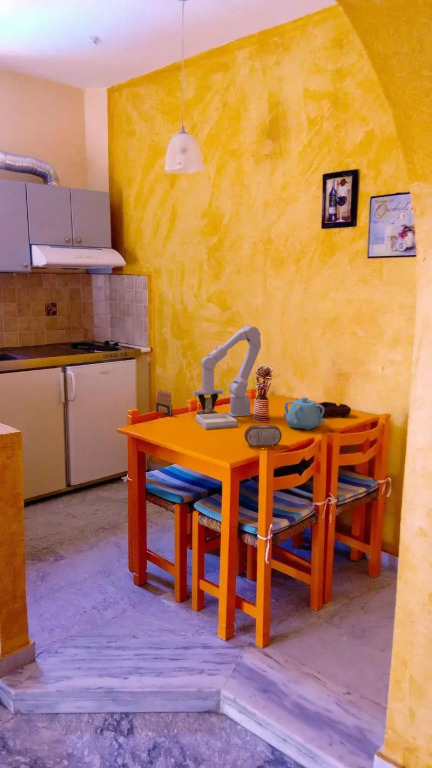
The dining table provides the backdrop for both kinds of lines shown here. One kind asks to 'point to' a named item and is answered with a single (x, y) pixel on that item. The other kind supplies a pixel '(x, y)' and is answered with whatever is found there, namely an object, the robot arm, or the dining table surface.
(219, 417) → the tray
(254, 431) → the tin
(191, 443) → the dining table surface
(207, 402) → the dowel
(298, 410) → the decorative pot
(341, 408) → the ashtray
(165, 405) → the ammunition clip
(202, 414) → the frame
